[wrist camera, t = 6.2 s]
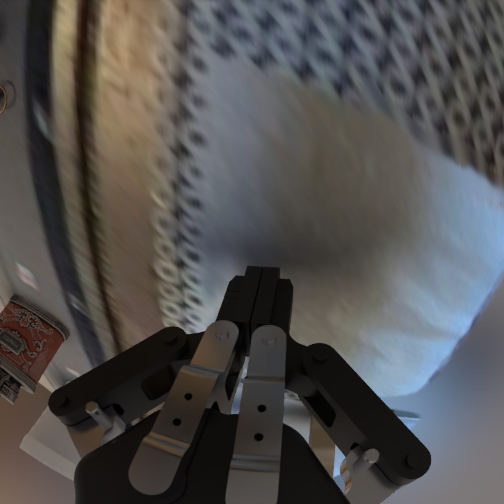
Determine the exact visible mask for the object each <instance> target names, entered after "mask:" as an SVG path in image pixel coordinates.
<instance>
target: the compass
mask: <svg viewBox="0 0 504 504" xmlns="http://www.w3.org/2000/svg"><path fill="white" fill-rule="evenodd" d="M0 88H1V89H2V90H3V92H4V95H5V105H4V107H3V109H2V110H1V111H0V113H2V112H3V111H4V110H5V108H6V105H7V94H6V91H5V89H4V87H3V86H0Z"/></svg>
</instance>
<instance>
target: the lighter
mask: <svg viewBox="0 0 504 504" xmlns="http://www.w3.org/2000/svg"><path fill="white" fill-rule="evenodd" d="M69 335H70V333H69V330H68V329H67V327H66V326H65V325H64V324H63V323H62V322H61V321H59V320H58V319H56V318H55V317H54V316H52V315H51V314H49V313H48V312H46V311H45V310H43V309H41V308H40V307H38V306H37V305H35V304H33V303H32V302H30V301H28V300H26V299H24V298H22V297H20V296H18V295H15V294H14V295H13V296H12V297H11V298H10V299H9V303H8V305H7V306H6V307H5V308H4V310H3V311H2V312H1V313H0V397H1V396H3V397H4V398H5V399H7V400H8V401H9V402H11V403H12V404H14V402H15V401H16V399H17V397H18V396H17V395H18V393H19V389H20V387H21V388H23V389H24V390H26V391H28V392H29V393H31V394H33V393H34V392H35V390H36V388H37V386H36V384H37V383H38V381H39V379H40V378H41V376H42V374H43V373H44V371H45V369H46V368H47V366H48V364H49V363H50V361H51V360H52V358H53V356H54V355H55V353H56V352H57V350H58V349H59V347H60V345H61V344H62V343H64V342H65V341H66V340H67V338H68V336H69Z"/></svg>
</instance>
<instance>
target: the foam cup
mask: <svg viewBox="0 0 504 504" xmlns="http://www.w3.org/2000/svg"><path fill="white" fill-rule="evenodd" d="M69 382H71V381H67V382H66V384H67V383H69ZM66 384H65V385H66ZM20 448H21V449H23V450H24V451H25V452H27V453H28V454H30V455H31V456H33V457H34V458H36V459H37V460H39V461H40V462H42V463H43V464H45V465H47V466H48V467H50V468H52V469H53V470H55V471H57V472H59V473H60V474H62V475H64V476H66V477H67V478H69V479H71V480H73V481H74V472H75V469H76V466H77V464H78V463H79V461H80V460H81V458H80V456H79V454H78V451H77V449H76V447H75V445H74V443H73V441H72V439H71V437H70V434H69V432H68V430H67V428H66V426H65V425H64V424H63V423H62V422H61V421H60V420H59V419H58V418H57V417H56V416H55V415H54V414H53V413H52V412H51V411H50V409H49V406H48V407H47V408H46V410H45V411H44V412H43V414H42V415H41V416H40V418H39V419H38V420H37V422H36V423H35V425H34V426H33V427H32V429H31V430H30V432H29V433H28V434H26V435H25V437H24V439H23V441H22V443H21V445H20Z"/></svg>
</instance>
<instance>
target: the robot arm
mask: <svg viewBox="0 0 504 504" xmlns="http://www.w3.org/2000/svg"><path fill="white" fill-rule="evenodd" d="M292 301H293V285H292V283H291V281H290V279H280V268H277V267H261V266H247V269H246V272H245V276H238V275H236V276H235V277H234V278H233V279H232V280H231V281H230V282H229V285H228V287H227V291H226V293H225V296H224V299H223V302H222V305H221V307H220V310H219V313H218V316H217V319H216V321H215V322H214V323H212V324H210V325H209V326H208V327H207V329H206V331H204V332H200V333H194V334H186V333H185V331H184V330H183V329H181V328H179V327H173V326H172V327H166V328H164V329H162V330H160V331H159V332H157V333H155V334H153V335H152V336H150V337H148V338H147V339H145V340H143V341H141V342H140V343H138V344H136V345H134V346H133V347H131V348H129V349H127V350H126V351H124V352H122V353H121V354H119V355H117V356H115V357H114V358H112V359H110V360H108V361H107V362H105V363H103V364H101V365H99V366H98V367H96V368H94V369H92V370H91V371H89V372H87V373H85V374H84V375H82V376H80V377H78V378H76V379H75V380H73V381H71V382H69V383H67V384H66V385H64V386H62V387H60V388H58V389H57V390H55V391H54V392H53V393H52V394H51V396H50V398H49V402H48V406H49V409H50V411H51V412H52V413H53V414H54V415H55V416H56V417H57V418H58V419H59V420H60V421H61V422H62V423H63V424H64V425H65V426H66V428H67V430H68V432H69V434H70V437H71V439H72V441H73V443H74V445H75V447H76V449H77V451H78V454H79V456H80V458H81V460H80V461H79V463H78V464H77V466H76V469H75V472H74V485H75V495H76V497H75V499H76V500H75V504H380V503H381V502H382V501H384V500H385V499H386V498H387V497H389V496H390V495H391V494H392V493H394V492H395V491H396V490H398V489H400V488H402V487H404V486H406V485H407V484H409V483H411V482H413V481H414V480H416V479H418V478H420V477H421V476H423V475H424V474H425V473H426V472H427V471H428V469H429V467H430V465H431V455H430V452H429V451H428V449H427V448H426V447H425V446H424V445H423V444H422V443H421V442H420V440H419V439H418V438H417V437H416V436H415V435H414V434H413V433H412V432H411V431H410V430H409V429H408V428H407V427H406V426H405V425H404V423H403V422H402V421H401V420H400V419H399V418H398V417H397V416H396V415H395V414H394V413H393V412H392V411H391V410H390V409H389V407H388V406H387V405H386V404H385V403H384V402H383V401H382V400H381V399H380V398H379V397H378V396H377V395H376V394H375V392H374V391H373V390H372V389H371V388H370V387H369V386H368V385H367V384H366V383H365V382H364V381H363V380H362V379H361V377H360V376H359V375H358V374H357V373H356V372H355V371H354V370H353V369H352V368H351V367H350V366H349V365H348V363H347V362H346V361H345V360H344V359H343V358H342V357H341V356H340V355H339V354H338V353H337V352H336V351H335V349H333V348H332V347H331V346H329V345H327V344H324V343H315V344H312V345H309V346H308V347H307V346H304V345H302V344H299V343H297V342H296V341H294V340H293V339H292V338H291V336H290V334H289V331H290V323H291V314H292ZM246 356H247V357H249V362H248V369H247V376H246V377H245V378H244V383H243V390H242V397H241V404H240V411H239V414H231V406H232V402H233V399H234V396H235V393H236V390H237V387H238V384H239V382H240V379H241V376H242V373H243V365H244V361H245V357H246ZM285 389H287V390H290V391H292V392H295V393H297V394H298V397H299V398H300V400H301V401H302V402H303V404H304V405H305V406H306V407H307V409H308V410H309V411H310V413H311V414H312V415H313V417H314V418H315V419H316V420H317V422H318V423H319V424H320V425H321V427H322V428H323V429H324V431H325V432H326V433H327V434H328V436H329V437H330V438H331V439H332V441H333V442H334V443H335V444H336V446H337V447H338V448H339V449H340V450H341V452H342V453H343V454H344V455H345V457H346V458H345V459H344V460H343V462H342V463H341V466H340V474H341V476H342V478H343V480H344V483H345V490H344V493H343V492H342V491H341V490H340V488H339V487H338V486H337V484H336V483H335V481H334V480H333V479H332V477H331V476H330V475H329V473H328V472H327V470H326V469H325V468H324V466H323V465H322V463H321V462H320V460H319V459H318V458H317V456H316V455H315V453H314V452H313V450H312V449H311V448H310V446H309V445H308V443H307V442H306V440H305V439H304V438H303V437H302V436H301V435H300V433H298V432H297V431H296V430H295V429H293V428H292V427H290V426H288V425H286V424H284V423H283V410H284V391H285ZM164 401H165V402H164ZM163 402H164V405H163V407H162V409H160V410H158V411H156V412H154V413H152V414H151V415H149V416H148V417H146V418H145V419H143V420H142V421H140V422H139V423H137V424H135V425H134V426H132V427H131V428H129V429H128V430H126V431H125V425H127V424H128V423H130V422H132V421H133V420H135V419H137V418H138V417H140V416H142V415H143V414H145V413H147V412H148V411H150V410H152V409H153V408H155V407H156V406H158V405H160V404H161V403H163Z"/></svg>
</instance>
